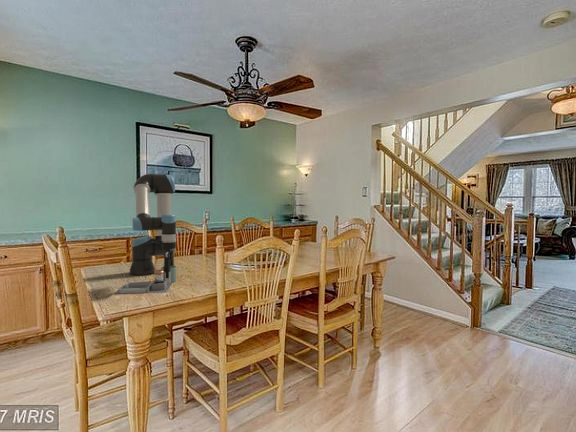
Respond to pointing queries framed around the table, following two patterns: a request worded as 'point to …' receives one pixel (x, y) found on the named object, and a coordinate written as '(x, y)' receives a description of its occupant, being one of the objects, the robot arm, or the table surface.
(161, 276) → the plunger
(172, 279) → the cup
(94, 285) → the table surface
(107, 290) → the table surface
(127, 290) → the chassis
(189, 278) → the table surface
